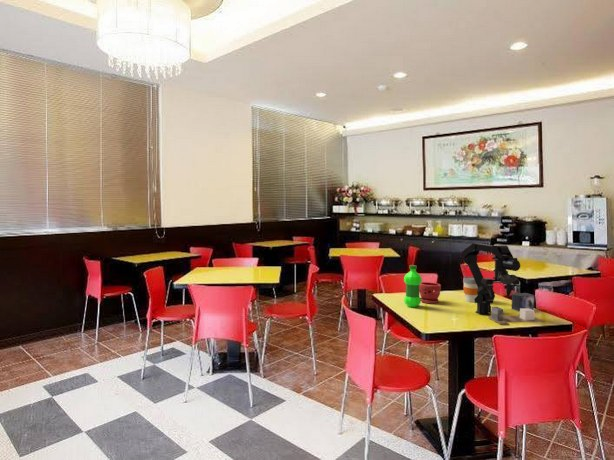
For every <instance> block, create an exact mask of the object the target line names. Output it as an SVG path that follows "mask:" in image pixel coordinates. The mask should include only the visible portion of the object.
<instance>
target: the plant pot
mask: <svg viewBox="0 0 614 460" xmlns="http://www.w3.org/2000/svg"><path fill="white" fill-rule="evenodd" d="M441 287H442V285H441V284H440V283H436V282H431V281H430V282H428V281H426V282H425V281H423V282H421V283H420V285H419V297H420V299H421V302H422V303H424V304H437V303H438V302H439V301H440V299H439V297H440V296H441V289H442V288H441Z"/></svg>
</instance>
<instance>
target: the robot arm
mask: <svg viewBox="0 0 614 460" xmlns="http://www.w3.org/2000/svg"><path fill="white" fill-rule="evenodd" d="M480 252H487V253H490V254H492V255H493V256H492V258H491V260H494V269H493V272H494V276H493V278H489V277H484V275H483V274H482V271H481V269H480V267H479V265H478V258H479V257H478V255H479V254H480ZM460 258H461V260H462V261H463V263H465V264H466V265H467V266H468V268H469V270H470V272H471V275H472V277H474V280H475V282H476V284H477V287H478V291H477V294H478V296H477V297H476V298H475V299H474V300H475V304H476V311H475V313H476V314H478V315H480V316H491V312H492V306H491V304H493V303H494V300H495V298H496V294H495V293H496V292H495V291H494V287H495V285H493V284H503V285H506V287H505V288H506V297H507V298H510V296H511V294H512V291H513V289H514V288H515V287H517V286H518V285H519V286H520V284H521V282H520V280H519V278H517V276H516V274H509V271H513V272H517V271H519V270H520V269H521V262H520V261H519V260H518V257H514V256H513V253H512V252H511V250H510V248H509V246H508V245H506V244H502V245H500V244H499V245H492V244H488V243H487V244H485V243H480V242H472V243H471V244H470V245H469V246H468V247H466V248H465V249H463V251H461V253H460Z"/></svg>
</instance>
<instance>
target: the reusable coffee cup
mask: <svg viewBox="0 0 614 460" xmlns="http://www.w3.org/2000/svg"><path fill="white" fill-rule="evenodd" d="M462 283H463V286H462V287H463V293H464V300H465V302H468V303H473V304H474V303H475V300H474V299H475V298H476V297H477V296H478V294H477V291H478V287H477V284H476V282H475V280H474V277H473V276H464V277H463V280H462ZM475 304H476V303H475Z"/></svg>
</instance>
